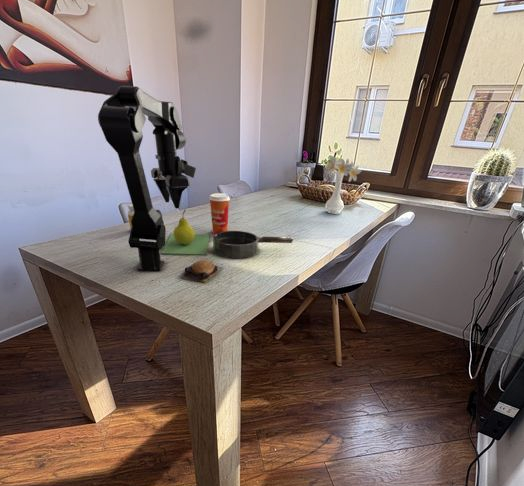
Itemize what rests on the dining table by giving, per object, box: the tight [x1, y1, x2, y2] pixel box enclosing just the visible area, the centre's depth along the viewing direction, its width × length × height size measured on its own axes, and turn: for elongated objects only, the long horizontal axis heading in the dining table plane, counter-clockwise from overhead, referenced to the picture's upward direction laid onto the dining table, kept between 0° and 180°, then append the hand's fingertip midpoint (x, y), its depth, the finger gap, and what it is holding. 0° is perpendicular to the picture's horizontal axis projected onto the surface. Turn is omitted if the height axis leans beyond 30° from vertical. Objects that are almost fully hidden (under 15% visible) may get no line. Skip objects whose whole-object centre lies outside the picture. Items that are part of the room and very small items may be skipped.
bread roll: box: [181, 259, 221, 283], centre depth 89 cm, size 11×8×4 cm
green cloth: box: [160, 233, 210, 256], centre depth 109 cm, size 20×14×1 cm
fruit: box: [173, 209, 195, 245], centre depth 105 cm, size 7×7×12 cm
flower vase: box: [324, 156, 362, 215], centre depth 152 cm, size 13×18×25 cm
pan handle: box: [256, 236, 294, 244], centre depth 105 cm, size 13×2×2 cm, turn 94°
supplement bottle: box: [127, 203, 134, 230], centre depth 115 cm, size 5×5×10 cm
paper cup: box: [208, 192, 231, 235], centre depth 118 cm, size 8×8×14 cm
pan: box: [212, 230, 259, 259], centre depth 105 cm, size 15×15×4 cm
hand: (172, 205), depth 102 cm, fingers open, 9 cm apart
